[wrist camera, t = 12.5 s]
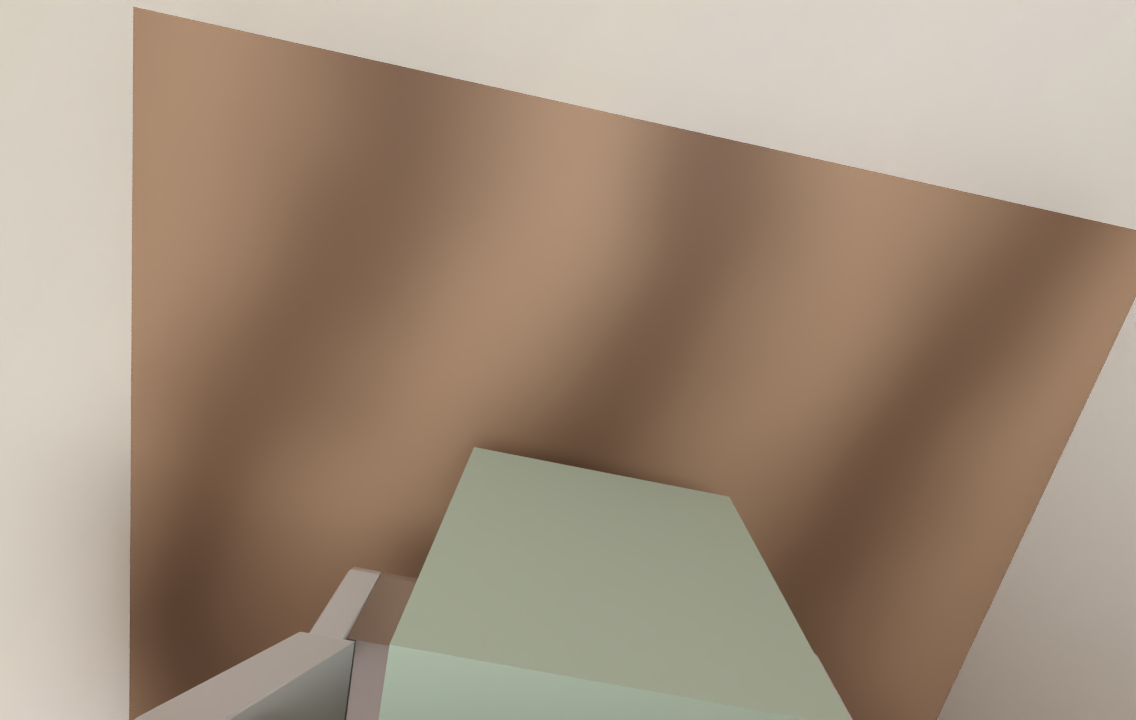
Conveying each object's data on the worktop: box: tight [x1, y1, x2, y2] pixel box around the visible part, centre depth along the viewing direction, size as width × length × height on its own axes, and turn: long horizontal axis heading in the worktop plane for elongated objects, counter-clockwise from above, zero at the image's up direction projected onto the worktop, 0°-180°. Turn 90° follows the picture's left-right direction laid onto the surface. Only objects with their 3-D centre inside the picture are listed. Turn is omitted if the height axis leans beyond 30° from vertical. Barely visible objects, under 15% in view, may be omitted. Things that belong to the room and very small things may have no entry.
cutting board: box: [129, 7, 1136, 720], centre depth 13 cm, size 20×18×1 cm
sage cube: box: [378, 447, 850, 720], centre depth 9 cm, size 5×5×5 cm
